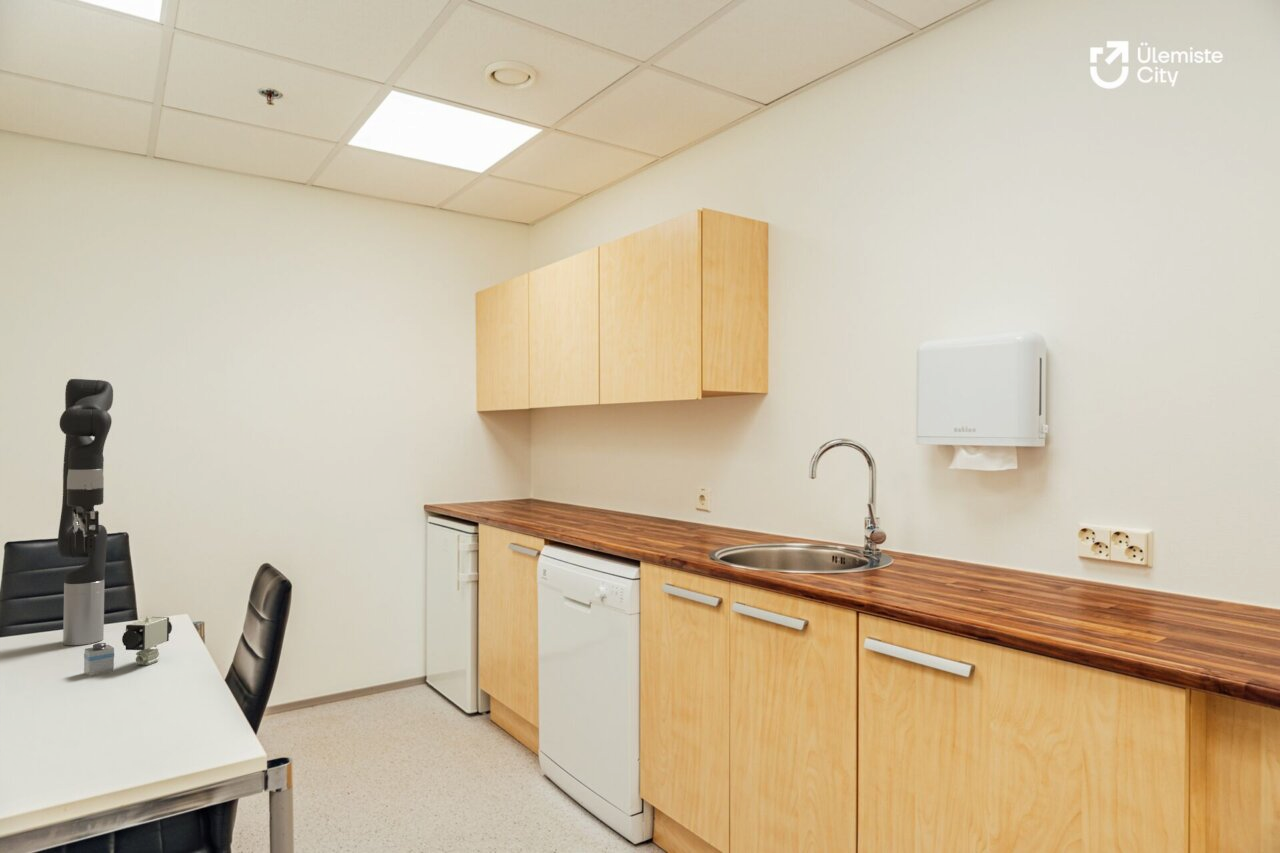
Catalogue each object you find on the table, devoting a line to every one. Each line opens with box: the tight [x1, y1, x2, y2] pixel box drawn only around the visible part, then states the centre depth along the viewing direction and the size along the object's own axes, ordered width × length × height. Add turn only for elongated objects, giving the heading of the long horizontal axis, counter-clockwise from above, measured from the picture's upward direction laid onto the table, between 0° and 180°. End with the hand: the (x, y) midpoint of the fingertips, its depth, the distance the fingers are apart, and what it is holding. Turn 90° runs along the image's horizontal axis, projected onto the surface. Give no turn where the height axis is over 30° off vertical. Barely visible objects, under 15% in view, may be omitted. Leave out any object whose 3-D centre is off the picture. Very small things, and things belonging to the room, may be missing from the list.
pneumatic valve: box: [121, 616, 173, 666], centre depth 190 cm, size 6×12×12 cm, turn 174°
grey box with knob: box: [83, 642, 115, 678], centre depth 182 cm, size 5×5×7 cm
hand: (84, 549), depth 189 cm, fingers open, 8 cm apart
